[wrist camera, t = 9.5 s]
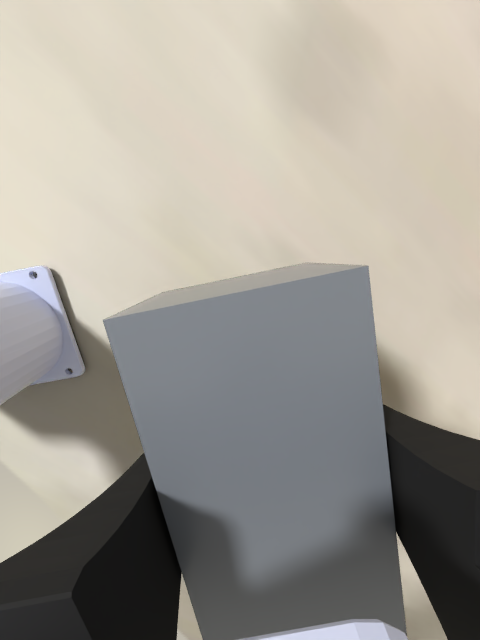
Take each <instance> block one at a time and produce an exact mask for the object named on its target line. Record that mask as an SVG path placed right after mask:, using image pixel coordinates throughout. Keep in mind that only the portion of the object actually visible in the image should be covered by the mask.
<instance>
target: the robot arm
mask: <svg viewBox="0 0 480 640" xmlns="http://www.w3.org/2000/svg"><path fill="white" fill-rule="evenodd" d="M33 272H36V273H37V278H35V277H34V276H33ZM68 368H70V369H72V371H73V373H71V372H69V370H68ZM84 372H85V366H84V363H83V360H82V358H81V355H80V352H79V349H78V346H77V343H76V341H75V338H74V335H73V332H72V329H71V326H70V324H69V321H68V318H67V315H66V312H65V309H64V307H63V304H62V301H61V298H60V295H59V292H58V290H57V287H56V284H55V281H54V278H53V275H52V273H51V270H50V269H49V268H48V267H46V266H36V267H30V268H25V269H20V270H15V271H10V272H4V273H0V405H1V404H3V403H4V402H5V401H7V400H8V399H10V398H11V397H13V396H14V395H16V394H17V393H19V392H20V391H21V390H23V389H24V388H26V387H27V386H29V385H35V384H40V383H45V382H51V381H56V380H61V379H67V378H72V377H78V376H81V375H82V374H83V373H84ZM383 413H384V422H385V432H386V441H387V451H388V460H389V470H390V480H391V489H392V499H393V508H394V518H395V528H396V532H397V534H398V536H399V538H400V540H401V542H402V544H403V546H404V548H405V550H406V552H407V554H408V556H409V558H410V560H411V562H412V564H413V566H414V568H415V570H416V572H417V574H418V576H419V579H420V581H421V583H422V585H423V587H424V589H425V591H426V593H427V595H428V598H429V600H430V602H431V604H432V606H433V608H434V610H435V612H436V615H437V617H438V619H439V621H440V623H441V625H442V628H443V630H444V632H445V634H446V636H447V639H448V640H480V440H477V439H473V438H470V437H466V436H463V435H459V434H456V433H452V432H449V431H446V430H443V429H440V428H438V427H435V426H432V425H429V424H426V423H424V422H421V421H419V420H416V419H414V418H411V417H409V416H407V415H404V414H402V413H400V412H398V411H396V410H393V409H391V408H389V407H387V406H385V405H383ZM181 573H182V571H181V568H180V565H179V562H178V558H177V555H176V552H175V549H174V546H173V543H172V539H171V536H170V533H169V530H168V527H167V523H166V520H165V517H164V514H163V511H162V507H161V504H160V501H159V498H158V495H157V491H156V488H155V485H154V482H153V479H152V476H151V472H150V469H149V466H148V463H147V460H146V456H145V453H143V454H142V455H141V456H140V458H139V459H138V460H137V461H136V462H135V463H134V464H133V465H132V466H131V467H130V468H129V469H128V470H127V471H126V472H125V473H124V474H123V475H122V476H121V477H120V478H119V479H118V480H117V481H116V482H115V483H113V484H112V485H111V486H110V487H109V488H108V489H107V490H106V491H104V492H103V493H102V494H101V495H100V496H99V497H97V498H96V499H95V500H94V501H92V502H91V503H90V504H88V505H87V506H86V507H85V508H83V509H82V510H81V511H79V512H78V513H77V514H76V515H74V516H73V517H72V518H70V519H69V520H67V521H66V522H65V523H63V524H62V525H60V526H59V527H58V528H56V529H55V530H53V531H52V532H50V533H49V534H47V535H46V536H44V537H43V538H41V539H39V540H38V541H36V542H35V543H33V544H32V545H30V546H28V547H27V548H25V549H23V550H22V551H20V552H18V553H17V554H15V555H14V556H12V557H10V558H8V559H7V560H5V561H3V562H2V563H0V640H176V638H177V622H178V609H179V596H180V584H181ZM237 640H408V638H407V636H406V634H405V633H404V632H402V631H401V630H399V629H397V628H395V627H393V626H391V625H389V624H387V623H385V622H382V621H380V620H378V619H350V620H344V621H339V622H333V623H327V624H322V625H316V626H310V627H305V628H299V629H294V630H288V631H282V632H277V633H271V634H266V635H260V636H254V637H249V638H243V639H237Z"/></svg>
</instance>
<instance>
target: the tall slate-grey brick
mask: <svg viewBox="0 0 480 640" xmlns="http://www.w3.org/2000/svg"><path fill="white" fill-rule="evenodd" d="M103 322H104V326H105V329H106V332H107V335H108V338H109V342H110V345H111V348H112V351H113V354H114V358H115V361H116V364H117V367H118V370H119V373H120V377H121V380H122V383H123V386H124V389H125V393H126V396H127V399H128V402H129V405H130V409H131V412H132V415H133V418H134V421H135V425H136V428H137V431H138V434H139V437H140V440H141V444H142V447H143V450H144V453H145V456H146V460H147V463H148V466H149V469H150V472H151V476H152V479H153V482H154V485H155V488H156V491H157V495H158V498H159V501H160V504H161V507H162V511H163V514H164V517H165V520H166V523H167V527H168V530H169V533H170V536H171V539H172V543H173V546H174V549H175V552H176V555H177V558H178V562H179V565H180V568H181V571H182V574H183V578H184V581H185V584H186V587H187V590H188V594H189V597H190V600H191V603H192V606H193V609H194V613H195V616H196V619H197V622H198V625H199V629H200V632H201V635H202V638H203V640H237V639H243V638H249V637H254V636H260V635H266V634H271V633H277V632H282V631H288V630H294V629H299V628H305V627H310V626H316V625H322V624H327V623H333V622H339V621H344V620H350V619H378V620H380V621H382V622H385V623H387V624H389V625H391V626H393V627H395V628H397V629H399V630H401V631H402V632H404V633H405V634H406V636H407V633H406V624H405V614H404V604H403V595H402V585H401V576H400V566H399V556H398V547H397V537H396V528H395V518H394V508H393V499H392V489H391V480H390V470H389V460H388V451H387V441H386V432H385V422H384V413H383V403H382V393H381V384H380V374H379V365H378V355H377V345H376V336H375V326H374V317H373V307H372V297H371V288H370V278H369V269H368V266H366V265H345V264H324V263H302V264H298V265H293V266H288V267H283V268H278V269H273V270H269V271H264V272H259V273H254V274H249V275H244V276H239V277H235V278H230V279H225V280H220V281H215V282H210V283H205V284H201V285H196V286H191V287H186V288H181V289H176V290H171V291H167V292H162V293H160V294H158V295H156V296H154V297H151V298H149V299H147V300H145V301H143V302H141V303H138V304H136V305H134V306H132V307H130V308H128V309H125V310H123V311H121V312H119V313H117V314H115V315H112V316H110V317H108V318H106V319H104V320H103Z"/></svg>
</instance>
